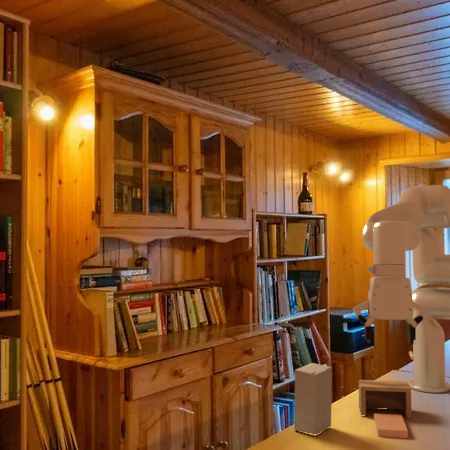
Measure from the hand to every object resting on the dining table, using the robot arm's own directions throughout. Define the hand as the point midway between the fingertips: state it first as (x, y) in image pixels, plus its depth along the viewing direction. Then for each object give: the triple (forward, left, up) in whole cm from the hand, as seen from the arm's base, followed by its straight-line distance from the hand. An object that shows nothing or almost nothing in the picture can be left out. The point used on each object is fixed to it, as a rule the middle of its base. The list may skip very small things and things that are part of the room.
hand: (390, 343), depth 132 cm
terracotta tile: (-7, +1, -23) cm, 24 cm away
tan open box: (-19, +1, -23) cm, 30 cm away
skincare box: (-3, -18, -23) cm, 30 cm away
